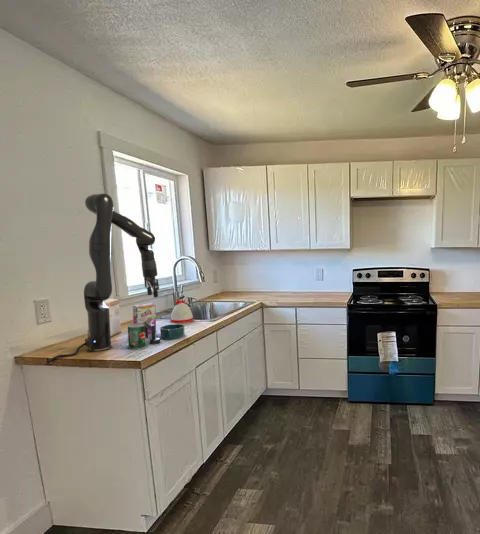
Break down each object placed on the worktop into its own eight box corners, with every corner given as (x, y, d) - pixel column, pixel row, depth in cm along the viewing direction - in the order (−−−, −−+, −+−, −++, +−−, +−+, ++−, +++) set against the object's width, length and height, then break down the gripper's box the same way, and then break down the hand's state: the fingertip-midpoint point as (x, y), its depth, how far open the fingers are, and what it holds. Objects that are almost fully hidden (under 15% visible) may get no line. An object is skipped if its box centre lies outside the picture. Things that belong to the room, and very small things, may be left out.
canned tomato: (147, 347, 171) (146, 325, 170) (129, 350, 167) (128, 327, 166) (144, 343, 178) (143, 322, 177) (127, 346, 174) (126, 324, 173)
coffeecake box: (109, 331, 201) (108, 298, 200) (121, 332, 201) (119, 298, 199) (92, 339, 187) (90, 303, 185) (104, 339, 186) (102, 303, 184)
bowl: (166, 341, 182) (165, 330, 181) (157, 336, 191) (156, 326, 191) (188, 336, 190) (188, 326, 190) (178, 332, 199) (178, 322, 199)
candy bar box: (137, 336, 192) (136, 306, 191) (133, 334, 195) (132, 305, 194) (156, 331, 201) (155, 303, 199) (152, 330, 204) (151, 302, 203)
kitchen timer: (170, 319, 233) (169, 297, 232) (192, 317, 238) (191, 295, 237) (171, 323, 220) (170, 300, 219) (193, 321, 225) (192, 298, 224)
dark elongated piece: (161, 342, 179) (161, 325, 178) (151, 344, 176) (151, 327, 175) (150, 336, 191) (149, 320, 190) (140, 338, 187) (140, 322, 187)
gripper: (137, 268, 198) (141, 295, 201) (147, 270, 188) (151, 299, 191) (151, 266, 203) (154, 293, 206) (161, 268, 193) (164, 296, 196)
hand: (153, 296), depth 198 cm, fingers open, 8 cm apart
